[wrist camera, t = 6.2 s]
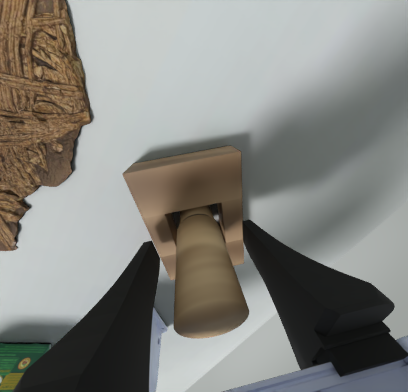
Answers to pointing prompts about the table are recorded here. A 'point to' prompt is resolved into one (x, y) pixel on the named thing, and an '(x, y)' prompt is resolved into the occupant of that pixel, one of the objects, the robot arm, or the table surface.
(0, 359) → the coffee box
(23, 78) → the wooden fragment
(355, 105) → the table surface
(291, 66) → the table surface
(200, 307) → the peg
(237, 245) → the board
